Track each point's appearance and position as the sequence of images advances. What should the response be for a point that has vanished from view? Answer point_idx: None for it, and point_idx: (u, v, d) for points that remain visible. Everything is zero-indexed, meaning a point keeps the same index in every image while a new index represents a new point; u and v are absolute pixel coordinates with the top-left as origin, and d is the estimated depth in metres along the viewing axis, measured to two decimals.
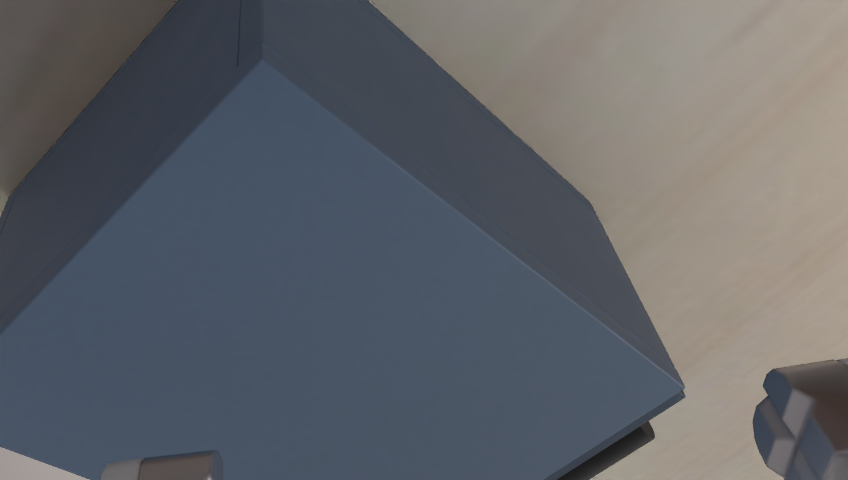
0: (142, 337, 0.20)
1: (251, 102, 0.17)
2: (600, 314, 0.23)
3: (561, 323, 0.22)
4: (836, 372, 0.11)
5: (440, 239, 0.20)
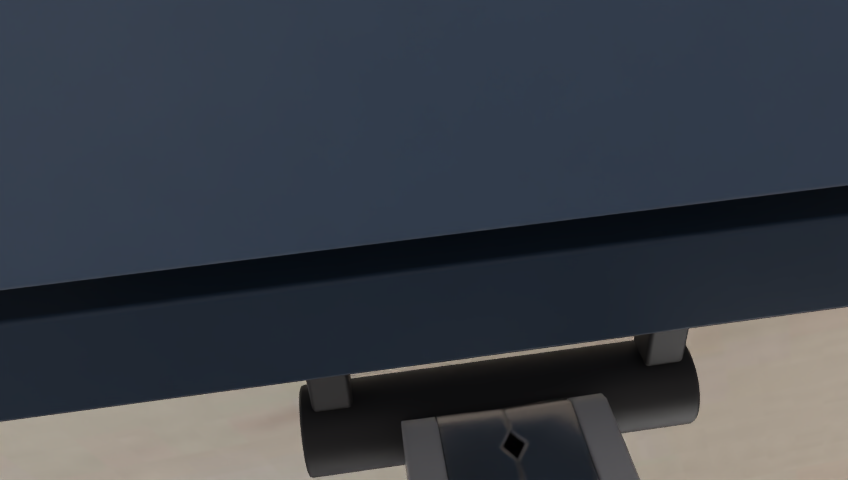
0: None
1: None
2: None
3: None
4: (559, 412, 0.11)
5: None
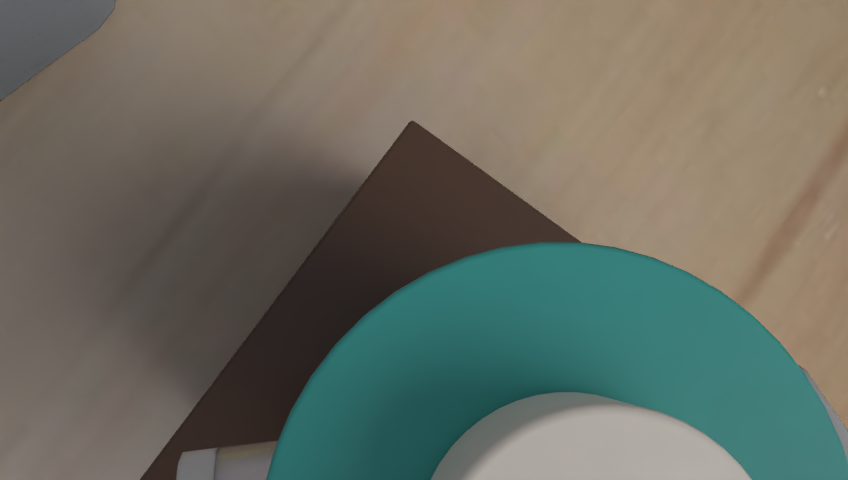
0: None
1: None
2: None
3: None
4: None
5: None
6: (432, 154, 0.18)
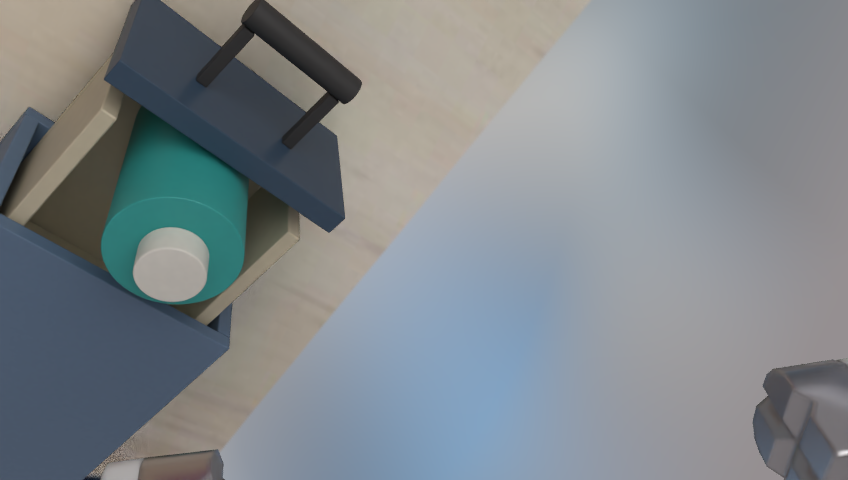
0: None
1: None
2: None
3: None
4: (836, 372, 0.11)
5: None
6: None
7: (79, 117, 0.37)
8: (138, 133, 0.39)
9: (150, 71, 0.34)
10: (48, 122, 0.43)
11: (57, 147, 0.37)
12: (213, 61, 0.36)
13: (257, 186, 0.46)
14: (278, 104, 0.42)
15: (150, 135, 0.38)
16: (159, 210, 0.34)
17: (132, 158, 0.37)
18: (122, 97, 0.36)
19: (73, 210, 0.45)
